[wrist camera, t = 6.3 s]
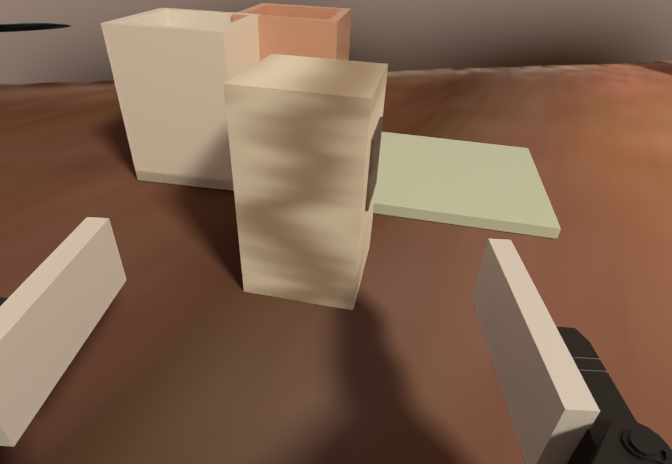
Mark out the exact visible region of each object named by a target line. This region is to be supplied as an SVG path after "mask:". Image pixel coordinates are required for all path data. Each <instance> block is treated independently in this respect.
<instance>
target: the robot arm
mask: <svg viewBox="0 0 672 464" xmlns="http://www.w3.org/2000/svg"><path fill="white" fill-rule="evenodd" d="M125 282H126V276H125V273H124V269H123V266H122V262H121V259H120V255H119V252H118V248H117V245H116V241H115V238H114V234H113V231H112V227H111V224H110V220H109V218H93V217H87V218H86V219H85V220H84V221H83V222H82V223H81V224H80V225H79V226H78V227H77V228H76V229H75V230H74V231H73V232H72V233H71V234H70V235H69V236H68V237H67V238H66V239H65V240H64V241H63V242H62V243H61V244H60V245H59V246H58V247H57V249H56V250H55V251H54V252H53V253H52V254H51V255H50V256H49V257H48V258H47V259H46V260H45V261H44V262H43V263H42V264H41V265H40V266H39V267H38V268H37V269H36V270H35V271H34V272H33V273H32V274H31V275H30V276H29V277H28V278H27V279H26V280H25V281H24V282H23V283H22V284H21V286H20V287H19V288H18V289H17V290H16V291H15V292H14V293H13V294H12V295H11V296H10V297H9V298H0V446H13V447H14V446H15V445H16V443H17V442H18V440H19V439H20V437H21V436H22V434H23V433H24V431H25V430H26V428H27V427H28V425H29V424H30V422H31V421H32V419H33V418H34V416H35V415H36V413H37V412H38V410H39V409H40V407H41V406H42V405H43V403H44V402H45V400H46V399H47V397H48V396H49V394H50V393H51V391H52V390H53V388H54V387H55V385H56V384H57V382H58V381H59V379H60V378H61V376H62V375H63V373H64V372H65V370H66V369H67V367H68V366H69V365H70V363H71V362H72V360H73V359H74V357H75V356H76V354H77V353H78V351H79V350H80V348H81V347H82V345H83V344H84V342H85V341H86V339H87V338H88V336H89V335H90V333H91V332H92V330H93V329H94V327H95V326H96V324H97V323H98V322H99V320H100V319H101V317H102V316H103V314H104V313H105V311H106V310H107V308H108V307H109V305H110V304H111V302H112V301H113V299H114V298H115V296H116V295H117V293H118V292H119V290H120V289H121V287H122V286H123V284H124V283H125ZM472 302H473V305H474V308H475V311H476V314H477V317H478V320H479V323H480V326H481V329H482V332H483V335H484V338H485V341H486V344H487V347H488V350H489V354H490V357H491V360H492V363H493V366H494V369H495V372H496V375H497V378H498V381H499V384H500V387H501V390H502V393H503V396H504V399H505V402H506V406H507V409H508V412H509V415H510V418H511V421H512V424H513V427H514V430H515V433H516V436H517V439H518V442H519V445H520V448H521V451H522V454H523V457H524V461H525V464H672V450H671V449H670V447H669V446H668V445H667V444H666V442H665V441H664V440H663V439H662V438H661V437H660V436H659V435H658V434H656V433H655V432H654V431H652V430H651V429H649V428H648V427H646V426H644V425H641V424H639V423H637V421H636V420H635V418H634V417H633V415H632V413H631V412H630V410H629V408H628V407H627V405H626V403H625V401H624V400H623V398H622V396H621V395H620V393H619V391H618V389H617V388H616V386H615V384H614V383H613V381H612V379H611V378H610V376H609V374H608V373H606V369H605V367H604V366H603V364H602V362H601V361H600V360H599V359H598V358H599V357H598V355H597V354H596V352H595V350H594V349H593V347H592V345H591V343H590V342H589V341H588V340H587V339H586V338H585V337H584V336H583V335H582V334H581V333H579V332H578V331H577V330H576V329H575V328H566V327H556V326H555V324H554V322H553V320H552V318H551V316H550V314H549V312H548V310H547V308H546V306H545V304H544V303H543V301H542V299H541V297H540V295H539V293H538V291H537V289H536V287H535V285H534V283H533V282H532V280H531V278H530V276H529V274H528V272H527V270H526V268H525V266H524V264H523V262H522V261H521V259H520V257H519V255H518V253H517V251H516V249H515V247H514V245H513V243H512V241H511V240H505V239H488V242H487V245H486V249H485V252H484V256H483V260H482V263H481V267H480V270H479V274H478V278H477V281H476V285H475V288H474V292H473V295H472Z"/></svg>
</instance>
